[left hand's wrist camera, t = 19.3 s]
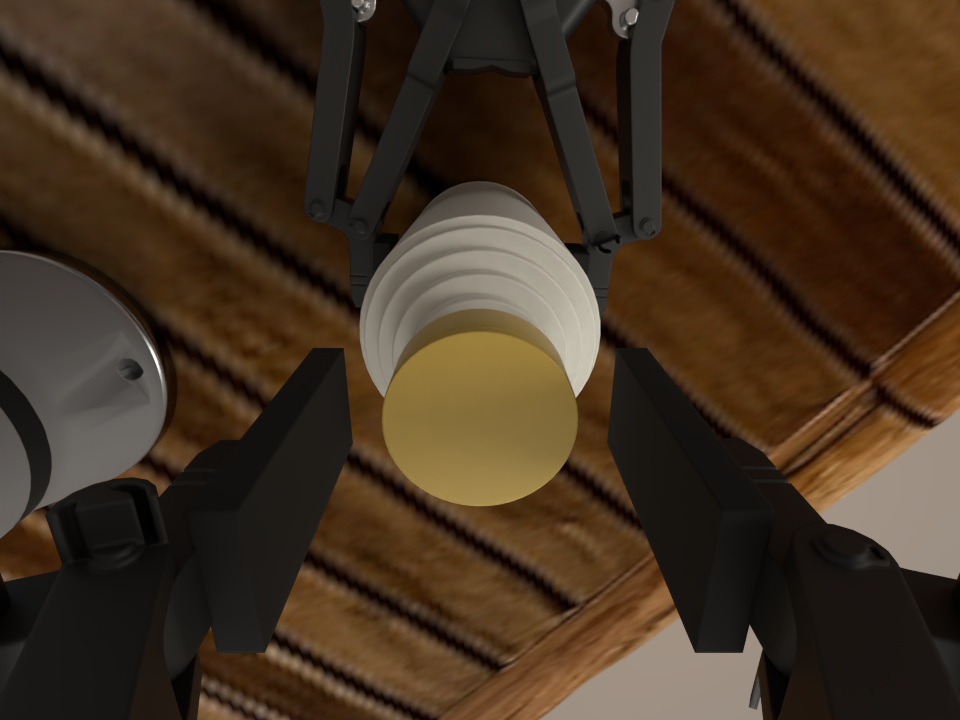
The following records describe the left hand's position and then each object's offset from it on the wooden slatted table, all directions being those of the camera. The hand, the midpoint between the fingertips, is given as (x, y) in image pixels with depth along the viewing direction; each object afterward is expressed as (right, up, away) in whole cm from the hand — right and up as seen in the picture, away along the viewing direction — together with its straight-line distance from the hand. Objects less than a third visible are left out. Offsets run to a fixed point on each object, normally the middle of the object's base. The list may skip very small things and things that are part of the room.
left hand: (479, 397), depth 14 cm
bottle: (0, +7, +18) cm, 19 cm away
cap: (0, 0, -1) cm, 1 cm away
